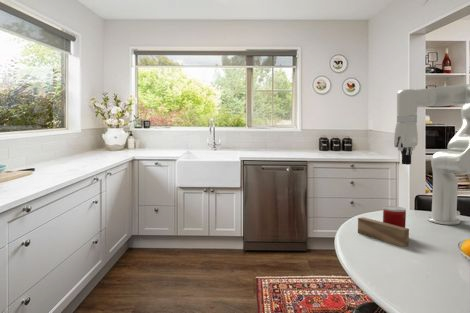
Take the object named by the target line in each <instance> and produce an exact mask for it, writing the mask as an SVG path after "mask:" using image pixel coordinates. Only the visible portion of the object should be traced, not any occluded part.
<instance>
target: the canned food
mask: <svg viewBox="0 0 470 313" xmlns="http://www.w3.org/2000/svg"><path fill="white" fill-rule="evenodd" d="M382 210H383V211H382V215H383V216H382V222H384V223H388V224H392V225H396V226H400V227H403V228H406V222H407V221H406V220H407V219H406V218H407V216H406V215H407V213H406V212H407V210H406V208H405V207H403V206H397V205H387V206H383V209H382Z"/></svg>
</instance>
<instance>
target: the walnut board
mask: <svg viewBox="0 0 470 313" xmlns="http://www.w3.org/2000/svg"><path fill="white" fill-rule="evenodd" d="M357 233H358V234H361V235H362V236H363V235H364V236H367V237H370V238H374V239H377V240H380V241H383V242H386V243H389V244H393V245H396V246H400V247H404V246H405V247H408V246H409V241H410V240H409V239H410V237H409V236H410V229H409V228H406V227H405V228H403V227H400V226H396V225H392V224H388V223H384V222H383V221H380V220H376V219H372V218H368V217H364V216H363V217H362V216H361V217H358V218H357Z"/></svg>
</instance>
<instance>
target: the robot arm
mask: <svg viewBox="0 0 470 313" xmlns="http://www.w3.org/2000/svg"><path fill="white" fill-rule="evenodd" d="M457 105H462V107H461V109H460V116H461V127H460V128H459V129H458V131H457V132H456V133H455V134H454V136H453V137H452V138H450V140H449V141H448V143H447V147H446V148H447V150H439V151H436V152H434V153H433V155H431V159H430V164H431V165H430V166H431V168H432V169H431V170H432V196H431V197H432V198H431V199H432V201H431V202H432V203H431V215H429V216H427V220H428V221H429V222H432V223H435V224H441V225H447V226H449V225H450V226H452V225H460V224H461V220H460V218H457V216H460V215H461V212H460V210H457V208H458V207H457V206H458V205H457V204H458V186H459V185H458V184H459V183H458V179H457V177H456V175H455V174H457V175H470V83H467V84H466V83H465V84H455V85H454V84H453V85H443V86H442V85H441V86H436V87H432V88H420V89H419V88H418V89H414V88H413V89H412V88H411V89H410V88H409V89H401V90H398V91H397V94H396V125H395V128H394V137H393V140H394V141H393V143H394V144H393V145H394V147H395V148H397V151H398V152H400V155H401V165H406V166H407V165H411V164H412V154H413V151H414V150H415V149H416V147H417V146H418V140H419V138H418V125H417V124H418V108H427V107H428V108H429V107H446V106H457Z"/></svg>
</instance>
